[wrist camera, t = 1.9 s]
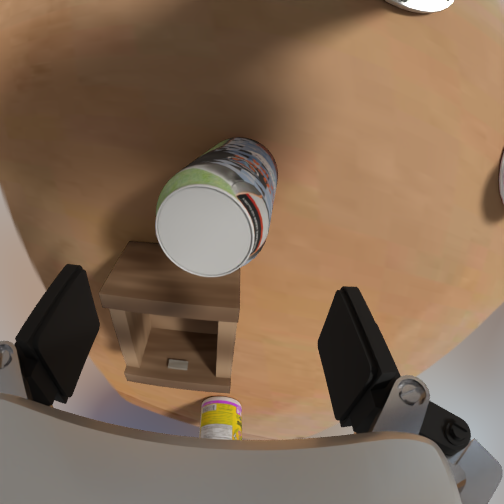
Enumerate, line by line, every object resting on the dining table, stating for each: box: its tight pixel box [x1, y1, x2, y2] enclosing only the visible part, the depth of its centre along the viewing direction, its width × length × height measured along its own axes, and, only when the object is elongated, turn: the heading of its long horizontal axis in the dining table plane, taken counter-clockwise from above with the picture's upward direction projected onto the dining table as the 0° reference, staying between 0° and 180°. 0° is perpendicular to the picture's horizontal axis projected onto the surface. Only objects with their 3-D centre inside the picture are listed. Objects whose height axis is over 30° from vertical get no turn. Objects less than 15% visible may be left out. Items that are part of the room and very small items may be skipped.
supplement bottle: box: [199, 396, 242, 440], centre depth 38 cm, size 7×7×13 cm
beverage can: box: [155, 137, 278, 277], centre depth 18 cm, size 6×7×12 cm
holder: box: [99, 241, 240, 393], centre depth 27 cm, size 12×11×8 cm
